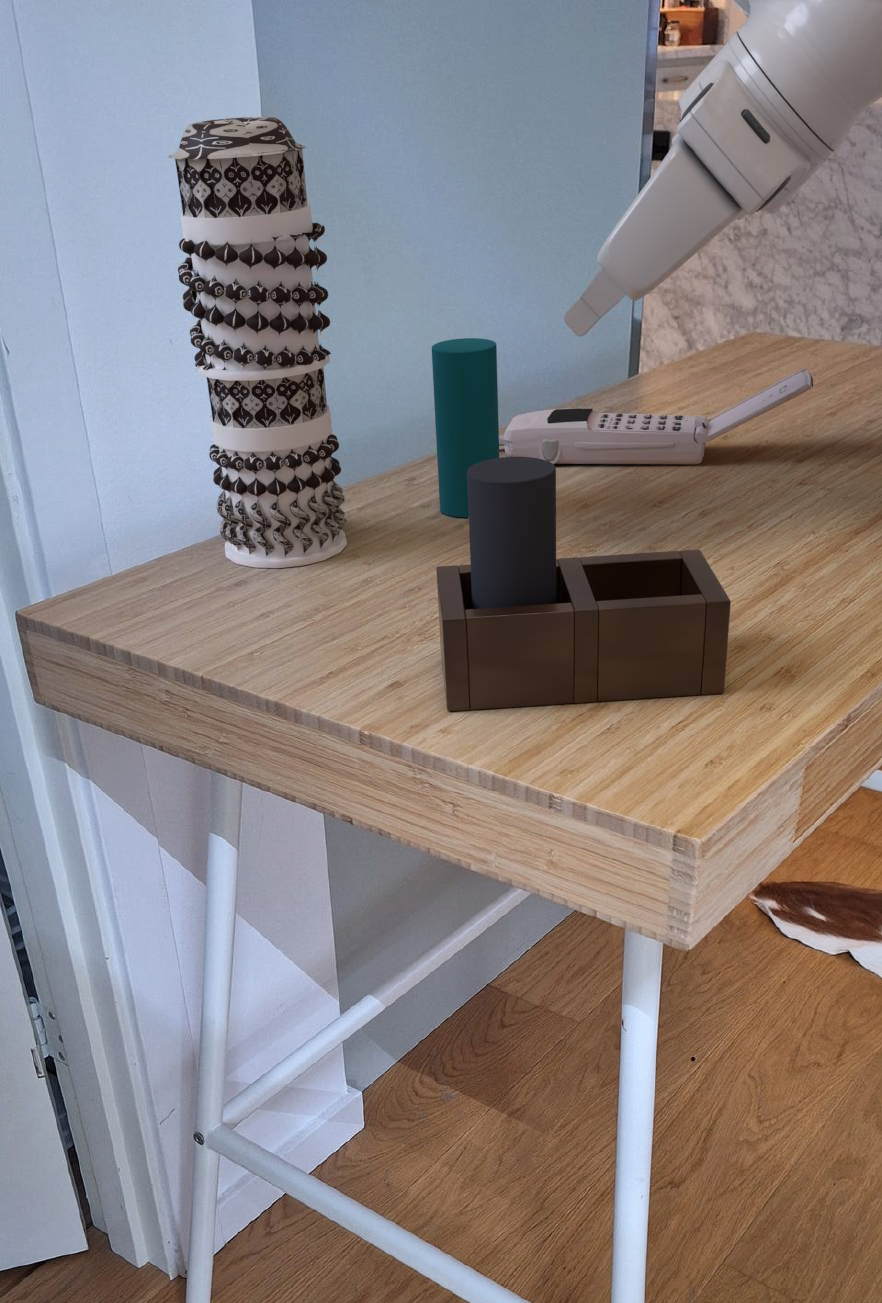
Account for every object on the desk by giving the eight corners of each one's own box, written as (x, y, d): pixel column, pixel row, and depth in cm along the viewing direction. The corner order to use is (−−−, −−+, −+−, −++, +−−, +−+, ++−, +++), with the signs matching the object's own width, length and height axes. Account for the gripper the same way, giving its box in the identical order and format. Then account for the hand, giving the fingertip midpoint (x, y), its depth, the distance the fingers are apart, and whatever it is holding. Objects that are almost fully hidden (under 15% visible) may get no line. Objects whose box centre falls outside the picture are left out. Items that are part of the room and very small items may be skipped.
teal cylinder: (498, 497, 99) (494, 336, 93) (503, 515, 96) (498, 349, 89) (438, 501, 99) (430, 340, 93) (441, 519, 96) (432, 353, 89)
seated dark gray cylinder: (551, 657, 75) (550, 453, 68) (560, 690, 71) (560, 478, 65) (472, 662, 75) (464, 459, 68) (477, 696, 71) (469, 484, 65)
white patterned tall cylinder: (370, 555, 90) (334, 117, 76) (236, 579, 88) (171, 131, 73) (332, 518, 97) (291, 110, 83) (206, 538, 95) (142, 123, 80)
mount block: (694, 636, 76) (700, 548, 73) (724, 693, 70) (731, 600, 67) (440, 652, 76) (436, 566, 73) (447, 712, 70) (442, 619, 67)
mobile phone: (815, 384, 98) (475, 386, 102) (805, 468, 101) (477, 466, 106) (812, 367, 103) (488, 369, 107) (803, 447, 106) (489, 446, 110)
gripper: (729, 80, 88) (580, 249, 96) (694, 104, 72) (519, 304, 80) (792, 157, 90) (640, 317, 98) (771, 197, 74) (592, 384, 82)
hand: (585, 312), depth 89 cm, fingers open, 8 cm apart
